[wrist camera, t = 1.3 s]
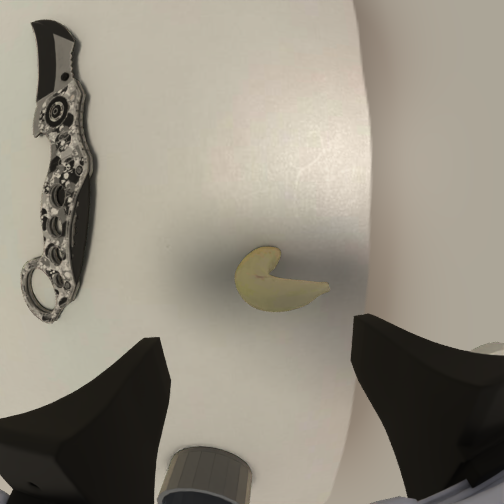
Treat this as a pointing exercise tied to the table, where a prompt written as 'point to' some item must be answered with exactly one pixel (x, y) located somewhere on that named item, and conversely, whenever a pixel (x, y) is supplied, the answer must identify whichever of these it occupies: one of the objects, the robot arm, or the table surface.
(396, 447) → the robot arm
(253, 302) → the fruit
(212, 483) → the holder
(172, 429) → the table surface
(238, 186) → the table surface
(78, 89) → the knife
